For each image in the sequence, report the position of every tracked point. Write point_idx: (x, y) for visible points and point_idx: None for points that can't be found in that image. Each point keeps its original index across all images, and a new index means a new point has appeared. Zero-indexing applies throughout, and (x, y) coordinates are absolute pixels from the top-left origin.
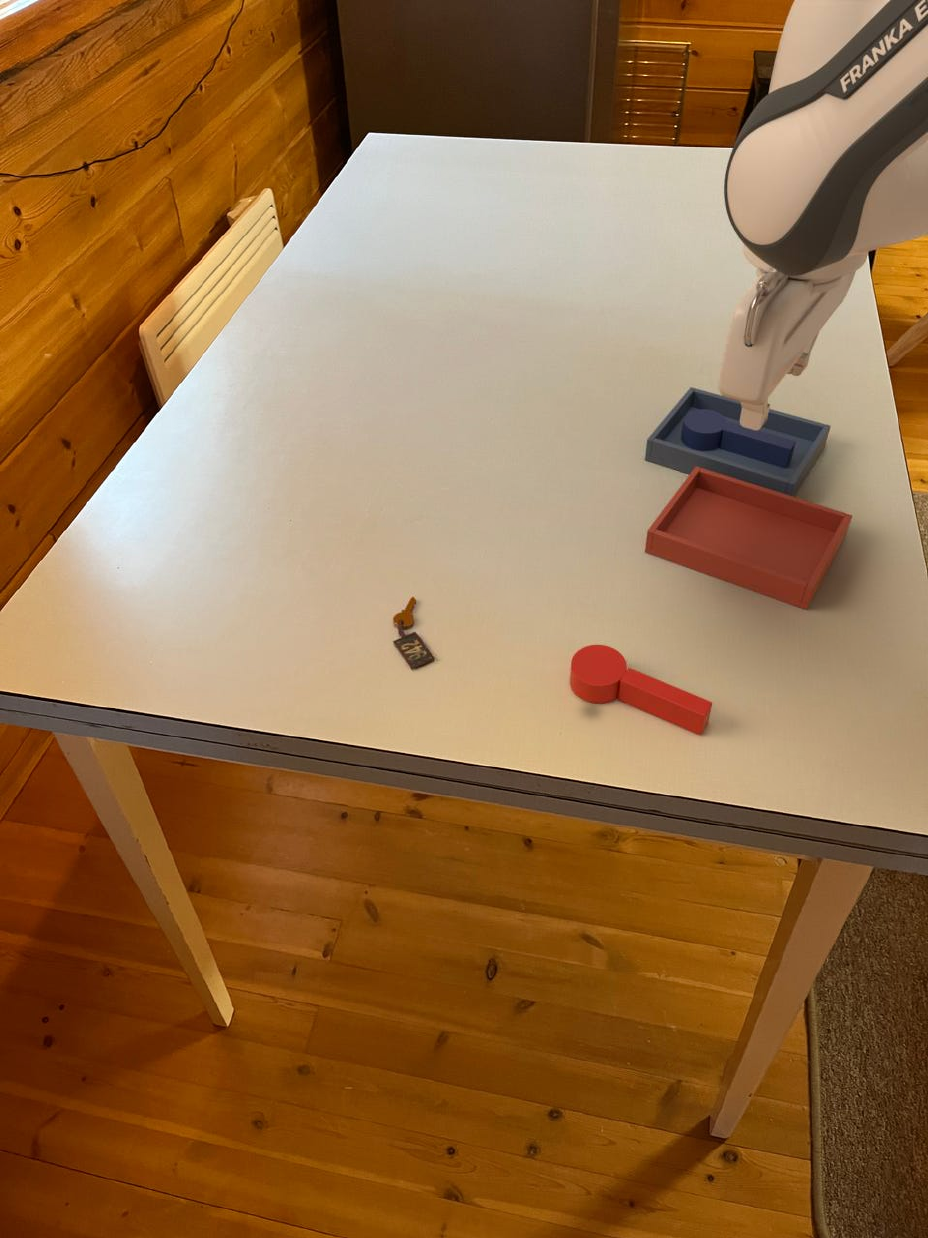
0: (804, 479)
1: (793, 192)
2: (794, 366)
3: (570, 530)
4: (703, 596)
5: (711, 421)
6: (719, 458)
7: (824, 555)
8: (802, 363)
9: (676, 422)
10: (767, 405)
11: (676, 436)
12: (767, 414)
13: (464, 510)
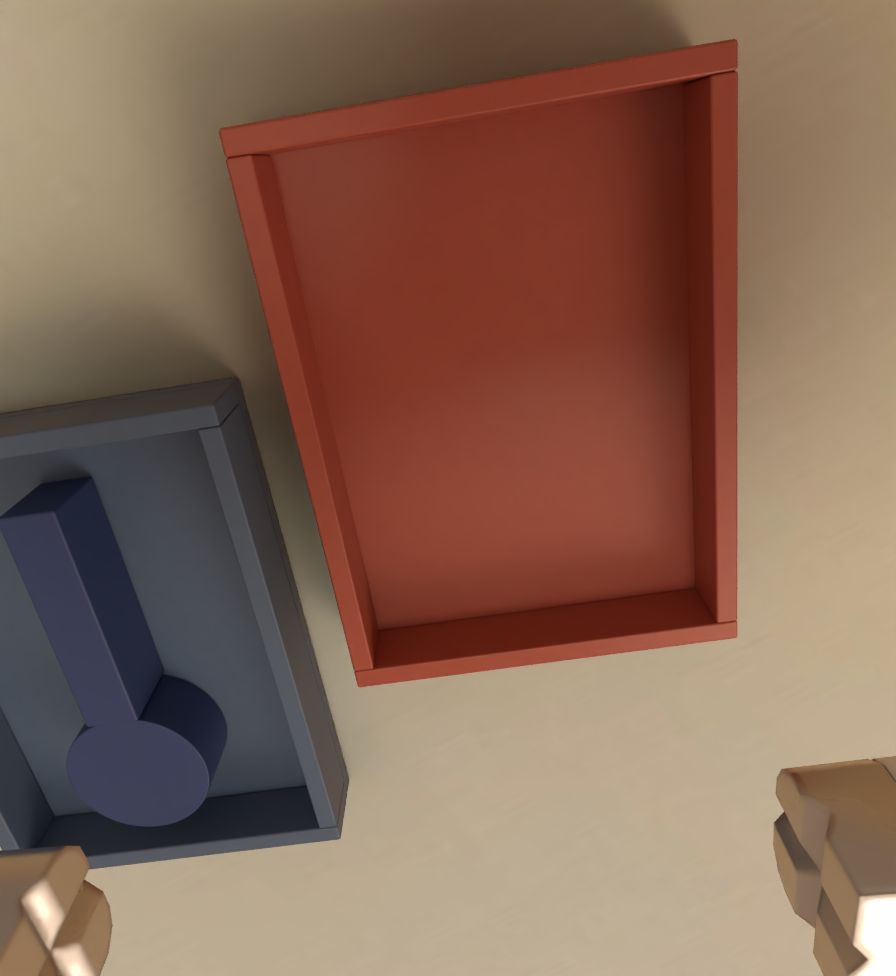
0: (81, 402)
1: None
2: (53, 932)
3: (728, 762)
4: (802, 368)
5: (126, 762)
6: (271, 655)
7: (527, 100)
8: (18, 939)
9: None
10: (888, 901)
11: None
12: (845, 817)
13: (789, 946)
